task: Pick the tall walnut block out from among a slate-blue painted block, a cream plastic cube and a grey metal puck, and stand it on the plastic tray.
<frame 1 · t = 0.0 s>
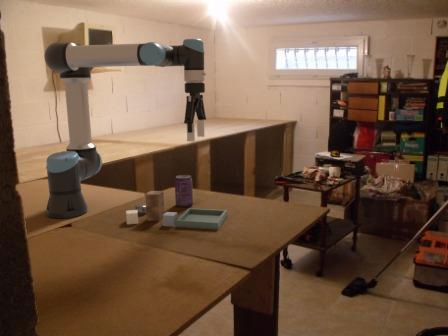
hand: (196, 138, 166), 28 cm above the table, fingers open, 13 cm apart
beverage can: (184, 205, 177), on the table
slate-blue block: (170, 224, 154), on the table
cream cube: (132, 222, 157), on the table
walnut block: (155, 218, 160), on the table
grey metal puck: (142, 213, 168), on the table
tray: (202, 221, 156), on the table
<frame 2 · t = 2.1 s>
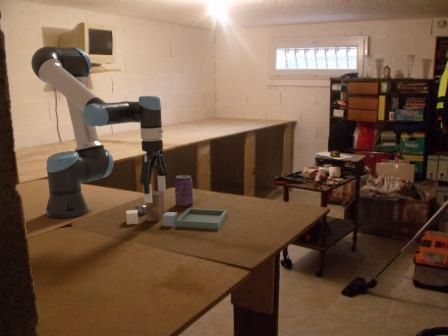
hand: (155, 197, 158), 8 cm above the table, fingers open, 13 cm apart
nothing on the table moved.
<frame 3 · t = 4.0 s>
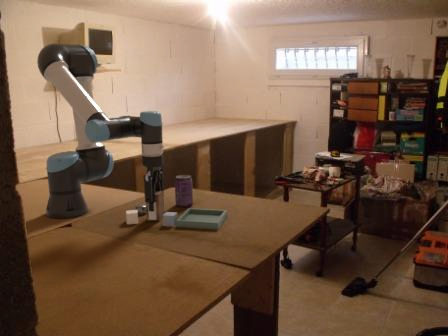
hand: (155, 216, 160), 1 cm above the table, fingers closed on walnut block, 5 cm apart
walnut block: (155, 218, 160), on the table, touching gripper
everything else where it was.
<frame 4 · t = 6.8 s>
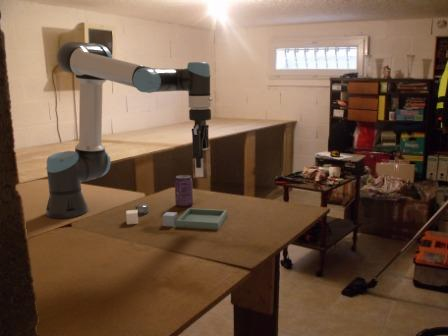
hand: (201, 174, 153), 17 cm above the table, fingers closed on walnut block, 5 cm apart
walnut block: (201, 176, 153), point 17 cm above the table, touching gripper
everything else where it was.
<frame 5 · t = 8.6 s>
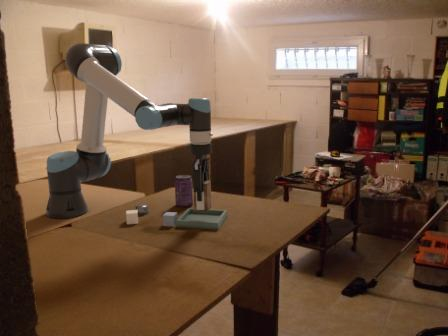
hand: (202, 207, 155), 5 cm above the table, fingers closed on walnut block, 5 cm apart
walnut block: (202, 209, 155), point 5 cm above the table, touching gripper
everything else where it was.
when the fingers open (3 cm above the table, at t = 9.9 s): walnut block drops 1 cm, resting on tray.
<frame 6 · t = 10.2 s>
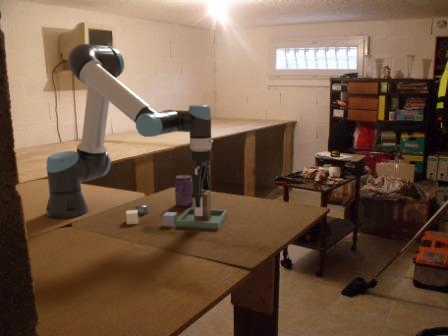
hand: (202, 211, 156), 4 cm above the table, fingers open, 9 cm apart
walnut block: (202, 219, 156), point 1 cm above the table, touching tray
everything else where it was.
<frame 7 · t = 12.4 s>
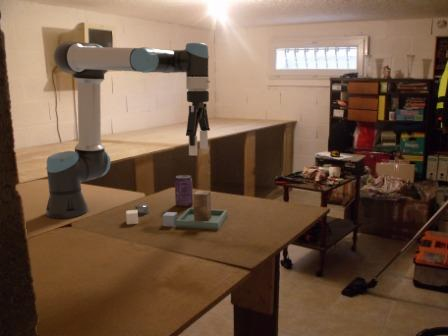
hand: (198, 151, 152), 25 cm above the table, fingers open, 13 cm apart
nothing on the table moved.
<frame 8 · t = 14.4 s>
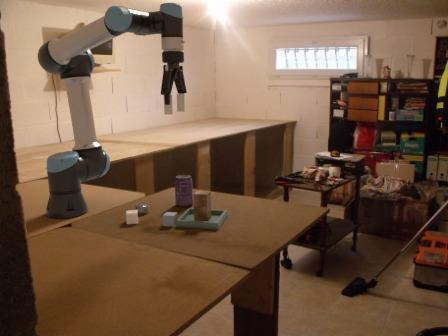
hand: (175, 113, 154), 39 cm above the table, fingers open, 13 cm apart
nothing on the table moved.
at the end: walnut block inside the target area on the tray (0.0 cm from its centre), point 0.8 cm above the tray's base; walnut block tilted 0°; the gripper is holding nothing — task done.
